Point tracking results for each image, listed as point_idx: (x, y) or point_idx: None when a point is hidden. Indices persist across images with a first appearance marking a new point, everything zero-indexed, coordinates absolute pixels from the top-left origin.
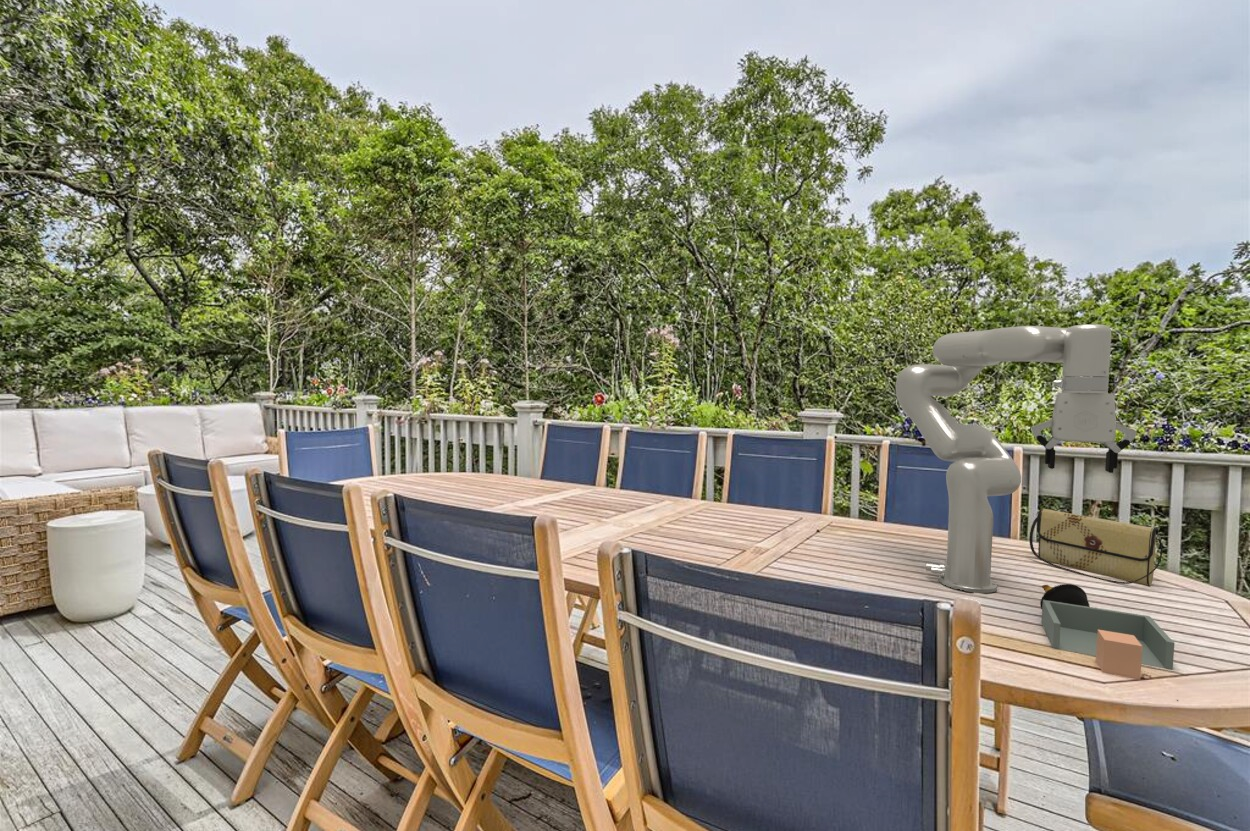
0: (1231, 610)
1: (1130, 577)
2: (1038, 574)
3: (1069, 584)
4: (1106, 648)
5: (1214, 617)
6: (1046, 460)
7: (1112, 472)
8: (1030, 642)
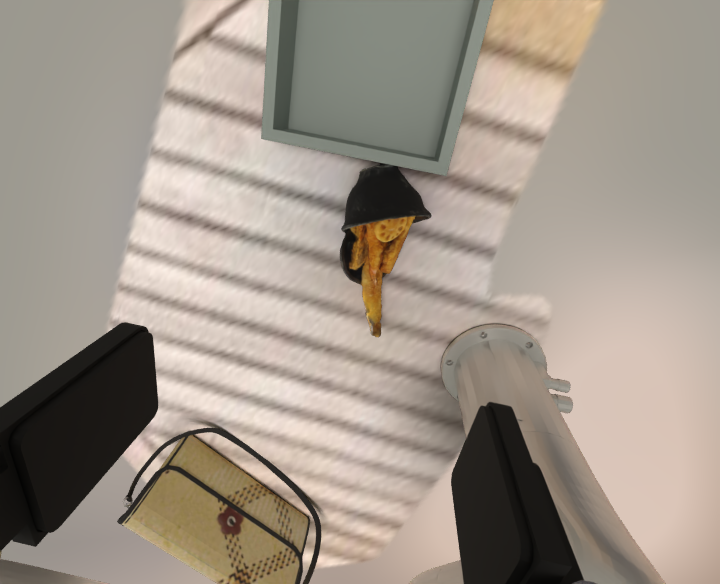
0: None
1: (205, 449)
2: (336, 449)
3: (380, 217)
4: None
5: (140, 316)
6: (541, 479)
7: (131, 325)
8: (506, 51)
